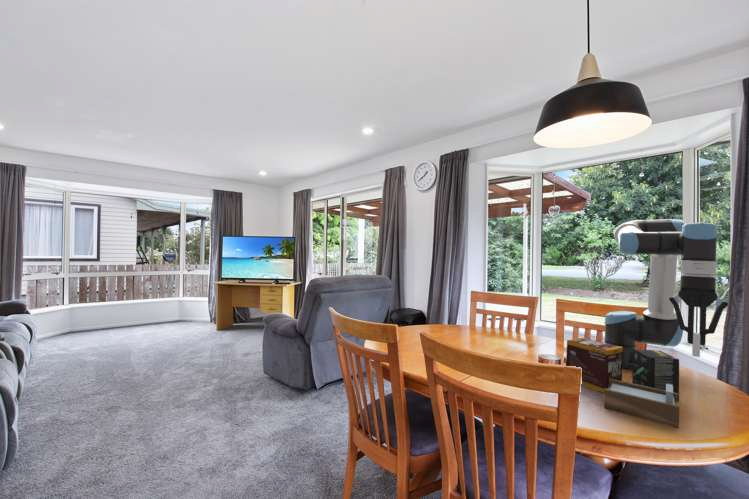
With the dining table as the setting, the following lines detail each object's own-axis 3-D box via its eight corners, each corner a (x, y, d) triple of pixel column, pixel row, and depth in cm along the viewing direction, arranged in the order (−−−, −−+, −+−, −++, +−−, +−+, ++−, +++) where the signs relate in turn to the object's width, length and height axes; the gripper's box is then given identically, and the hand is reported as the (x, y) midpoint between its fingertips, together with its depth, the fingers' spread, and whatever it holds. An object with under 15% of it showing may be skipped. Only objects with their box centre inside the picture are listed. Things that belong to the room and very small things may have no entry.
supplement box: (606, 394, 122) (607, 350, 121) (565, 379, 135) (566, 339, 135) (623, 389, 126) (624, 346, 126) (581, 375, 140) (582, 336, 140)
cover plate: (612, 386, 118) (612, 371, 118) (674, 400, 108) (674, 384, 108) (608, 395, 111) (609, 379, 111) (674, 411, 101) (674, 394, 101)
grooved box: (609, 395, 120) (609, 378, 120) (677, 412, 109) (678, 393, 109) (604, 408, 110) (604, 389, 110) (678, 428, 99) (679, 407, 99)
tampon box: (679, 402, 116) (680, 359, 116) (648, 399, 118) (649, 356, 118) (659, 389, 127) (660, 349, 126) (631, 387, 128) (632, 347, 128)
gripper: (668, 274, 103) (666, 353, 103) (731, 277, 94) (729, 363, 94) (668, 273, 108) (666, 348, 108) (727, 276, 100) (725, 357, 100)
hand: (695, 355), depth 101 cm, fingers closed
